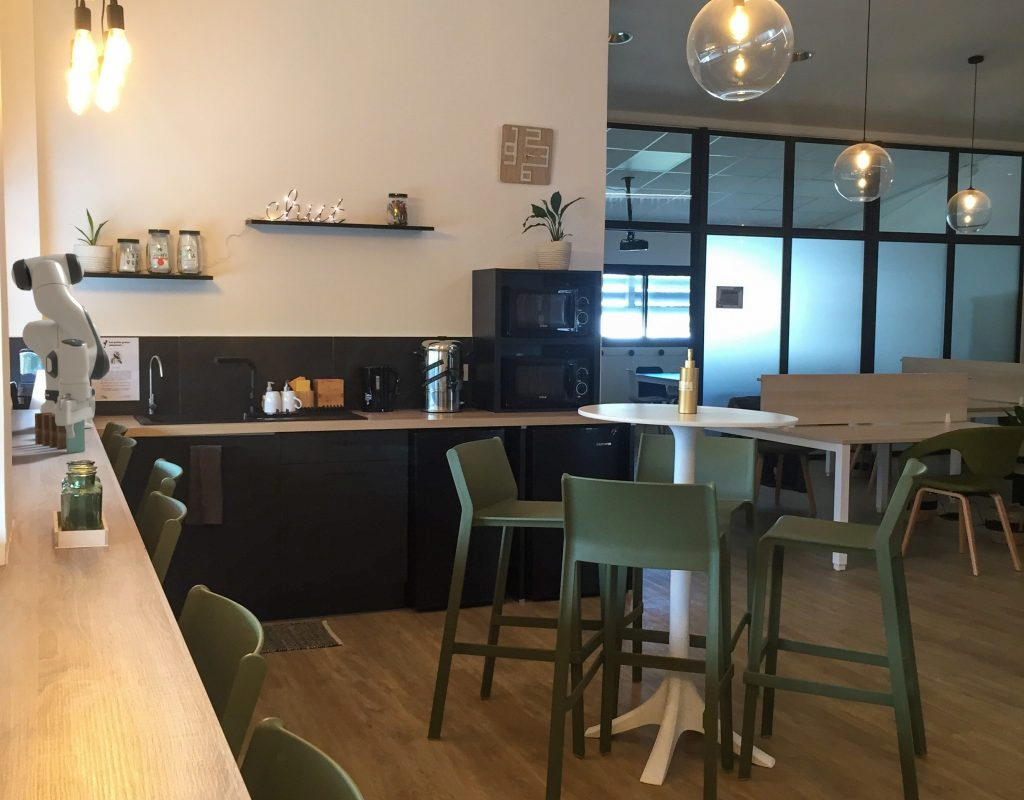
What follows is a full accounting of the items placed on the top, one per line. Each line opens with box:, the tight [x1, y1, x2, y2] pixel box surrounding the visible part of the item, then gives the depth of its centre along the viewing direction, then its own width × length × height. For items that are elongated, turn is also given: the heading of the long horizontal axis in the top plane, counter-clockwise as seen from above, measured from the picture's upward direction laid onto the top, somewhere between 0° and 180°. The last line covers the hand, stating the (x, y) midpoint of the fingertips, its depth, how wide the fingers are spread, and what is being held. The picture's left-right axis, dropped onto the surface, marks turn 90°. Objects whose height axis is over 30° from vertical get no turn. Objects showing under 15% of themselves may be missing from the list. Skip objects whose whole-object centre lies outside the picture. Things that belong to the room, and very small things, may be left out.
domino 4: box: [56, 426, 67, 450], centre depth 321 cm, size 2×5×10 cm, turn 142°
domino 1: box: [34, 412, 52, 445], centre depth 330 cm, size 2×5×10 cm, turn 141°
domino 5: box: [66, 419, 86, 454], centre depth 314 cm, size 2×5×10 cm, turn 138°
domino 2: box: [41, 414, 55, 447], centre depth 327 cm, size 2×5×10 cm, turn 142°
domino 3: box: [49, 415, 57, 449], centre depth 324 cm, size 2×5×10 cm, turn 142°
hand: (75, 436), depth 314 cm, fingers open, 4 cm apart
